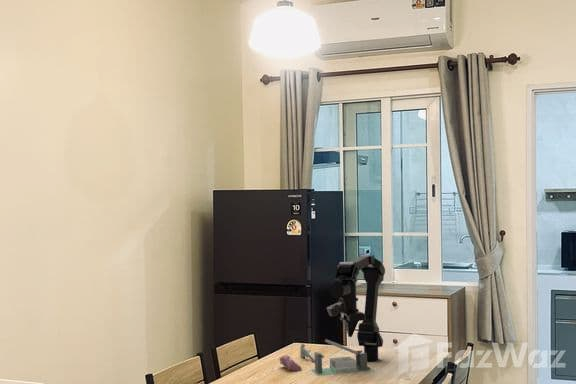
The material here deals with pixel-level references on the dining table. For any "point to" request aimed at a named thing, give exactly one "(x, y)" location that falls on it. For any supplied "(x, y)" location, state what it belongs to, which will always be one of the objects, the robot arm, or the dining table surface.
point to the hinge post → (362, 361)
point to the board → (328, 371)
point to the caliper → (306, 353)
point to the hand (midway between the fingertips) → (350, 336)
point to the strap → (343, 347)
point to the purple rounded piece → (289, 363)
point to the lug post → (318, 362)
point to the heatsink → (343, 364)
